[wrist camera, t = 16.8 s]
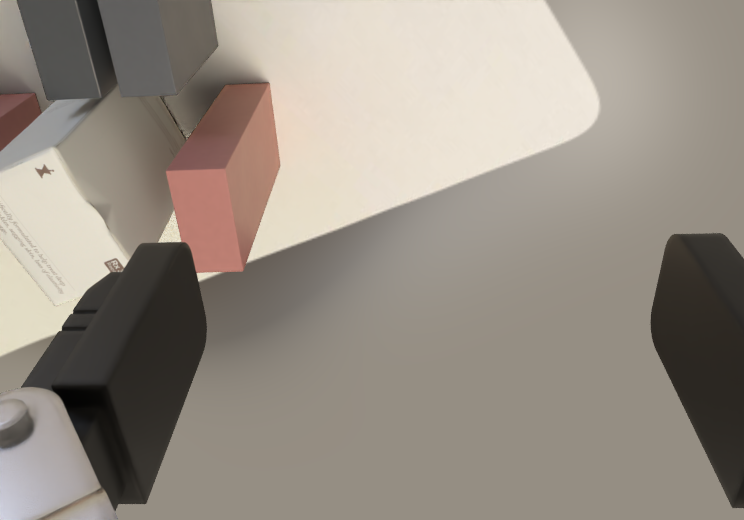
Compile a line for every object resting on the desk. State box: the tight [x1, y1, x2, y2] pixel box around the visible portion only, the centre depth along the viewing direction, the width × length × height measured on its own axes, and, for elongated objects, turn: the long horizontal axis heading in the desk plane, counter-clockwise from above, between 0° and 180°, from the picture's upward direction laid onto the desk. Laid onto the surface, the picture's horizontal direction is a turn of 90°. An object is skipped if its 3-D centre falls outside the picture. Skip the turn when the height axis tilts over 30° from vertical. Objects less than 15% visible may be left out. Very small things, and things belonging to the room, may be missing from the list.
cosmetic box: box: [0, 84, 186, 306], centre depth 41 cm, size 8×6×15 cm
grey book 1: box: [17, 0, 118, 100], centre depth 38 cm, size 7×3×10 cm, turn 3°
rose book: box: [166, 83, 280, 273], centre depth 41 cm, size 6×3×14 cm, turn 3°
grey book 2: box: [97, 0, 218, 97], centre depth 38 cm, size 7×3×10 cm, turn 3°
